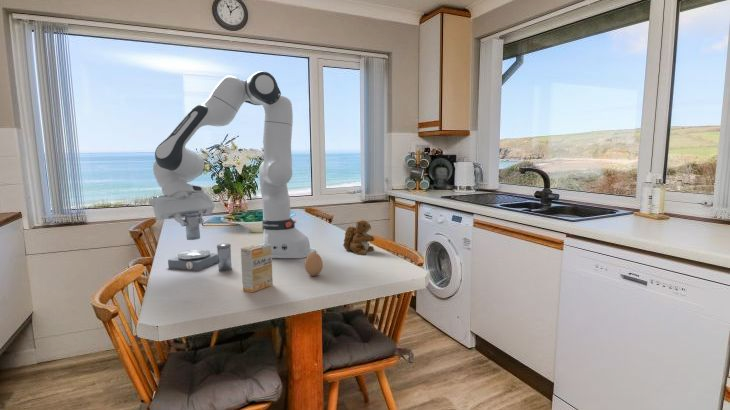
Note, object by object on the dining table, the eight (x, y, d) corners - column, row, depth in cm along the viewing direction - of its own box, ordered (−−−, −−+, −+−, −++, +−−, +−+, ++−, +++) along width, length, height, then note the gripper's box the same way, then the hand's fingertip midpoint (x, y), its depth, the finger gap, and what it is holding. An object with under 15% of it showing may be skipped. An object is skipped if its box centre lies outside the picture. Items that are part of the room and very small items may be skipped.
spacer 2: (234, 267, 138) (233, 243, 137) (226, 271, 134) (225, 246, 133) (223, 267, 140) (222, 243, 138) (215, 270, 135) (213, 245, 134)
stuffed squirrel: (365, 255, 153) (365, 223, 151) (336, 251, 160) (336, 220, 158) (377, 250, 161) (377, 219, 160) (350, 246, 169) (349, 217, 167)
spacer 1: (203, 237, 136) (201, 212, 135) (194, 240, 132) (192, 214, 131) (192, 237, 138) (190, 212, 136) (183, 239, 133) (181, 214, 132)
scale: (220, 261, 147) (219, 252, 147) (197, 270, 135) (196, 261, 135) (191, 259, 151) (191, 250, 150) (167, 268, 139) (166, 259, 138)
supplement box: (253, 293, 113) (251, 249, 111) (242, 290, 115) (239, 247, 113) (273, 285, 120) (271, 244, 118) (262, 282, 122) (260, 242, 120)
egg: (301, 275, 129) (301, 252, 128) (317, 271, 132) (316, 249, 131) (310, 279, 124) (309, 256, 123) (326, 275, 128) (325, 252, 127)
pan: (216, 252, 146) (216, 250, 146) (196, 260, 136) (196, 257, 136) (192, 251, 150) (192, 248, 149) (171, 258, 139) (170, 256, 139)
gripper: (149, 191, 129) (164, 222, 124) (207, 186, 145) (222, 214, 140) (145, 203, 133) (160, 234, 128) (202, 197, 148) (217, 225, 143)
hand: (193, 223), depth 134 cm, fingers closed on spacer 1, 4 cm apart
